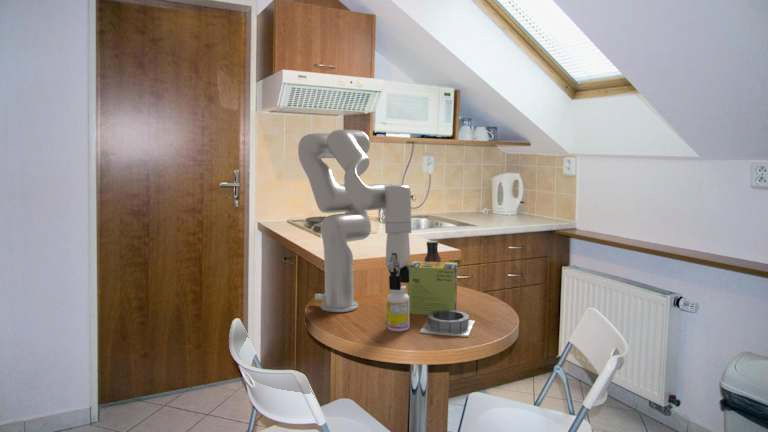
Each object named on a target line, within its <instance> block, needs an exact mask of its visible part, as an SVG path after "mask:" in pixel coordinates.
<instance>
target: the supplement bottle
mask: <svg viewBox="0 0 768 432" xmlns="http://www.w3.org/2000/svg"><path fill="white" fill-rule="evenodd" d="M389 291H390V294H388V295H387V297H386V322H387V323H386V325H387V330H389V331H392V332H398V333H399V332H405V331H408V330H409V328H410V326H411V325H410V322H411V321H410V315H411V314H409V296H408V293H406V291H407V286H406V285H404V284H401V289H400V290H390V289H389Z"/></svg>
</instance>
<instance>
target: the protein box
mask: <svg viewBox="0 0 768 432" xmlns="http://www.w3.org/2000/svg"><path fill="white" fill-rule="evenodd" d="M407 295H408V296H409V315H423V316H424V315H425V316H427V315H428V314H429V313H430V312H433V311H437V310H456V311H457V310H458V309H457V308H458V263H457V262H453V261H452V262H450V261H449V262H448V261H447V262H446V261H444V262H443V261H441V262H425V261H412V262H411V263H410V264H409V282H408V283H407Z"/></svg>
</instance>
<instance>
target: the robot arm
mask: <svg viewBox="0 0 768 432" xmlns="http://www.w3.org/2000/svg"><path fill="white" fill-rule="evenodd" d="M370 146H371V142H370V138H369V136H368V135H367V134H366V132H365V131H362V130H359V129H336V130H333V131H331V132H330V133H326V132H316V133H315V132H314V133H309V134H305V135H303V136H302V137H301V139H299V142H298V146H297V147H298V148H297V149H298V150H297V151H298V152H297V153H298V159H299V162H300V164H301V167H302V169H303V171H304V173H305V175H306V177H307V178H308V181H309V185H310V188H311V191H312V193H313V197H314V200H315V202H316V203H315V204H316V206H317V208H318V209H319V211H320V212H322V213H324V214H329V215H327V216H326V217H325V218H324V219H322V221H321V224H320V234H321V238H322V244H323V254H324V255H323V258H324V259H323V260H324V262H323V263H324V292H323V294H322V293H314V301H318V302H319V301H321V304H320V309H321V310H322V311H325V312H328V313H329V312H330V313H347V312H351V311H354V310H356V309H358V308H359V302H358V301H355V300H354V257H353V256H354V255H353V251H352V250H351V248H350V247H349V245H348V243H349V242H355V241H362V240H365V239H367V238H368V237H369V236H370V234H371V230H372V224H371V220H370V216H369V214H368V211H375V210H376V211H378V210H384V217H385V218H384V219H385V220H384V221H385V222H384V225H385V227H384V228H385V234H387V236H386V242H385V243H386V245H385V267H386V268H387V269H388V278H389V279H388V283H389V291H390V290H400V289H401V285H402V284H401V283H405V284H408V282H409V266H410V264H409V263H410V262H411V261H410V260H411V255H410V254H411V252H410V249H411V248H410V234H412V202H411V201H412V197H411V196H412V193H411V188H410V186H409V185H406V184H405V185H404V184H400V185H399V184H390V183H383V184H382V183H381V184H380V183H377V184H376V183H375V184H365V183H364V182H363V181H362V179H361V178H360V176H362V175H363V174H365V172H366V171H367V170H368V168H369V166H370V158H369V157H368V155H367V153H368V152H369V151H370ZM322 159H335V160H336V161H337V162H338V164H339V165H340V166H341V168H342V169H343V171H344V176H343V183H342V184H340V183H338V182H337V181H336V178H335V174H334V173H333V170H332V169H331V168H330V167H329V165H327V164H326V162H324V161H323V160H322ZM336 213H337V214H336Z"/></svg>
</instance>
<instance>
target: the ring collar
mask: <svg viewBox="0 0 768 432" xmlns="http://www.w3.org/2000/svg"><path fill="white" fill-rule="evenodd" d="M426 316H427V318H426V322H425V323H424V324H423V326H422V327H421V329H420V330H419V334H429V335H441V336H451V337H461V338H469V336H470V335H471V332H472V330H473V327H474V325H475V324H476V320H471V319H470V315H469V314H468V313H467V312H463V311H459V310H457V309H456V310H437V311H433V312H430V313H429V314H428V315H426Z"/></svg>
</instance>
